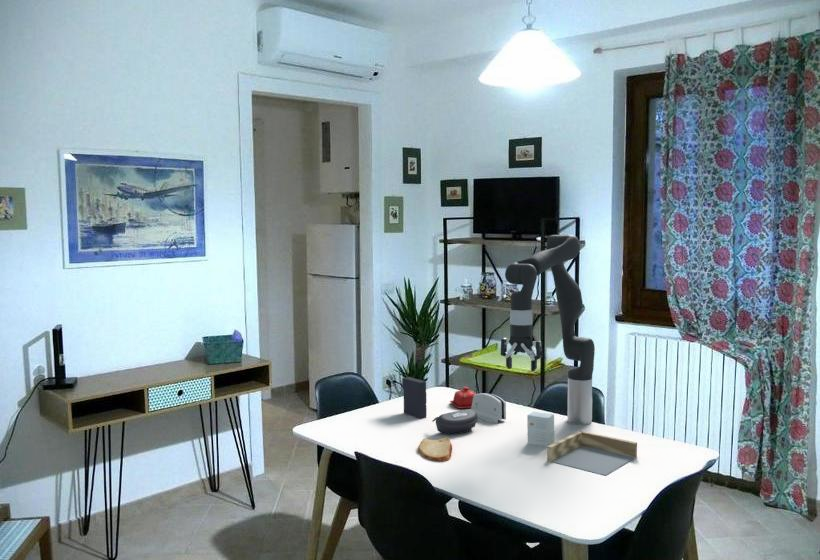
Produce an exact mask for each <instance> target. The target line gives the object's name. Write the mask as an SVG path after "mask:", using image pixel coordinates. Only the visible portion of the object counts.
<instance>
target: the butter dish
mask: <svg viewBox="0 0 820 560" xmlns="http://www.w3.org/2000/svg"><path fill="white" fill-rule="evenodd" d="M469 388H470V387H468V386H463V387H462V389H461V390H456V392H454V396H453V400H449V402H450V403H451V404H452V405H453V406H454V407H456V408H457V409H471V407H472V402H473V396H474V395H476V394H477V393H476V392H475V391H473V390H470V389H469Z"/></svg>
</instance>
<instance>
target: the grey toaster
mask: <svg viewBox="0 0 820 560" xmlns="http://www.w3.org/2000/svg"><path fill="white" fill-rule="evenodd" d="M506 407H507V405H506V401H505V400H504V399H503V398H501V397H500V396H498V395H496V394H492V393H490V392H489V393H487V392H484V393H482V392H481V393H476V395H474V396H473V402H472V407H471V408H470V409H471V410H473V411H474V412H476V414H477V417H478V419H481V420H485V421H487V422H491V423H494V424H499V421H503V420H507V408H506Z"/></svg>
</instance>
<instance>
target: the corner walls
mask: <svg viewBox="0 0 820 560" xmlns="http://www.w3.org/2000/svg"><path fill="white" fill-rule="evenodd" d="M580 446H587V447H591V448H596V449H600V450H605V451H609V452H613V453H618V454H622V455H627V456H631V457H635V459H636V458H638V442H637V441H630V440H628V439H627V440H626V439H622V438H617V437H612V436H607V435H604V434H599V433H598V434H597V433H594V432H593V433H592V432H589V431H585V430H578V431H577V432H575V433H573V434H570V435H568V436H566V437H563V438H562V439H560V440H558V441H554V443H553V444H551V445H549V446H547V447H546V461H547V462H550V463H552V462H551V461H553V460H555V459H557V458H559V457H560V456H562V455H564V454H566V453H568V452H570V451H572V450H574V449H576V448H578V447H580Z"/></svg>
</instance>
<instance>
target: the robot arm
mask: <svg viewBox="0 0 820 560" xmlns="http://www.w3.org/2000/svg"><path fill="white" fill-rule="evenodd" d="M580 245H581V244H580V241H579V239H578V237H577V236H576V235H572V234H552V235H549V236H548V238H547V240H546V245H545V247H546V249H545V250H540V251H538V252H535V253H533V254H532V255H530V256H528V257H527V258H525V259H520V260H517V261H514V262H511V263H510V264H509V265H508V266H507V267H506V269H505V272H504V277H505V279H506V281H507V282H508V283H509V284H512V285H521V286H522V287H521V290H518V291H513V292H512V293H510V313H509V338H507V337H503V338H501V340H500V356H502V357H504V358H505V365H506V366H505V367H506V368H507V369H508V370H511V369H512V367H513V357H512V355H514V353H522V354H525V353H526V354H527V356H528V357H529V358H530V371H531V372H535V371H536V370H537V368H538V360H540V359H542V358H543V343H542V340H533V310H532V306H533V304H532V302H533V301H532V298H533V293H534V289H535V285H536V283H537V279H538V278H537V277H538V276H540V275H541V274H542V273H544V272H546V271H547V270H549V269H550V270H551V273H552V279H553V282H554V283H553V284H554V288H555V295H556V302H557V308H558V310H559V311H558V313H559V317H560V319H559V320H560V325H561V326H560V327H561V337H562V348H563V354H564V356H565V357H566V359H568V360H570V361H577V362H579V366H578V367H575V368H572V369H569V370H568V372H567V413H566V414H567V419H566V420H567V422H569V423H570V424H575V425H590V424H591V423H592V422H593V421H592V420H593V373H594V367H595V366H594V365H595V354H596V352H595V351H596V349H595V342H594V340H593V339H591V338H590V337H584V336H583V337H582V336H581V337H580V336H577V335H576V331H575V330H576V329H575V326H576V325H575V324H576V322H577V321H578V318H579V317H580V314H581V313H582V311H583V307H584V304H583V303H584V302H583V297H582V291H581V288H580V286H579V285H578V283H577V282H576V280H575V279H574V278H573V277H572V276H571V274H570V273H569V272H568V270H567V268H566V266H565V262H567V261H571V260H573V259H575V258H577V256H578V255H579V253H580V248H581V247H580ZM508 345H510V346H511V347H510V348H509V350H508ZM533 346H534V347H535V350H534V349H533ZM507 351H508V352H507Z"/></svg>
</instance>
